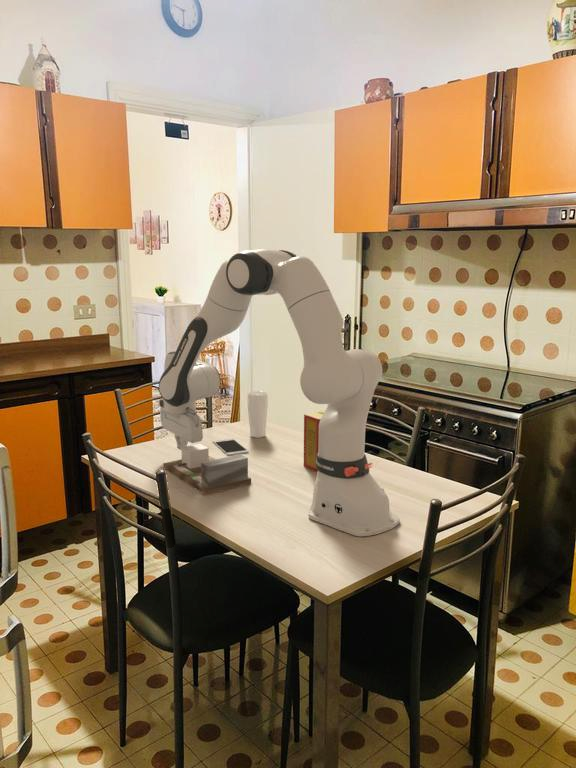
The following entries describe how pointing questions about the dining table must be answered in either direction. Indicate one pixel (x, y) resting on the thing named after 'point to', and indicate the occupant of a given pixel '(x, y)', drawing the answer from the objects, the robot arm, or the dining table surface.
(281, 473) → the dining table surface
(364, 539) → the dining table surface
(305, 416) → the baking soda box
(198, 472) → the grey stepped block
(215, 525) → the dining table surface
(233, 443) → the smartphone
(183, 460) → the white rectangular block
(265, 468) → the dining table surface
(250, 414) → the white travel tumbler
